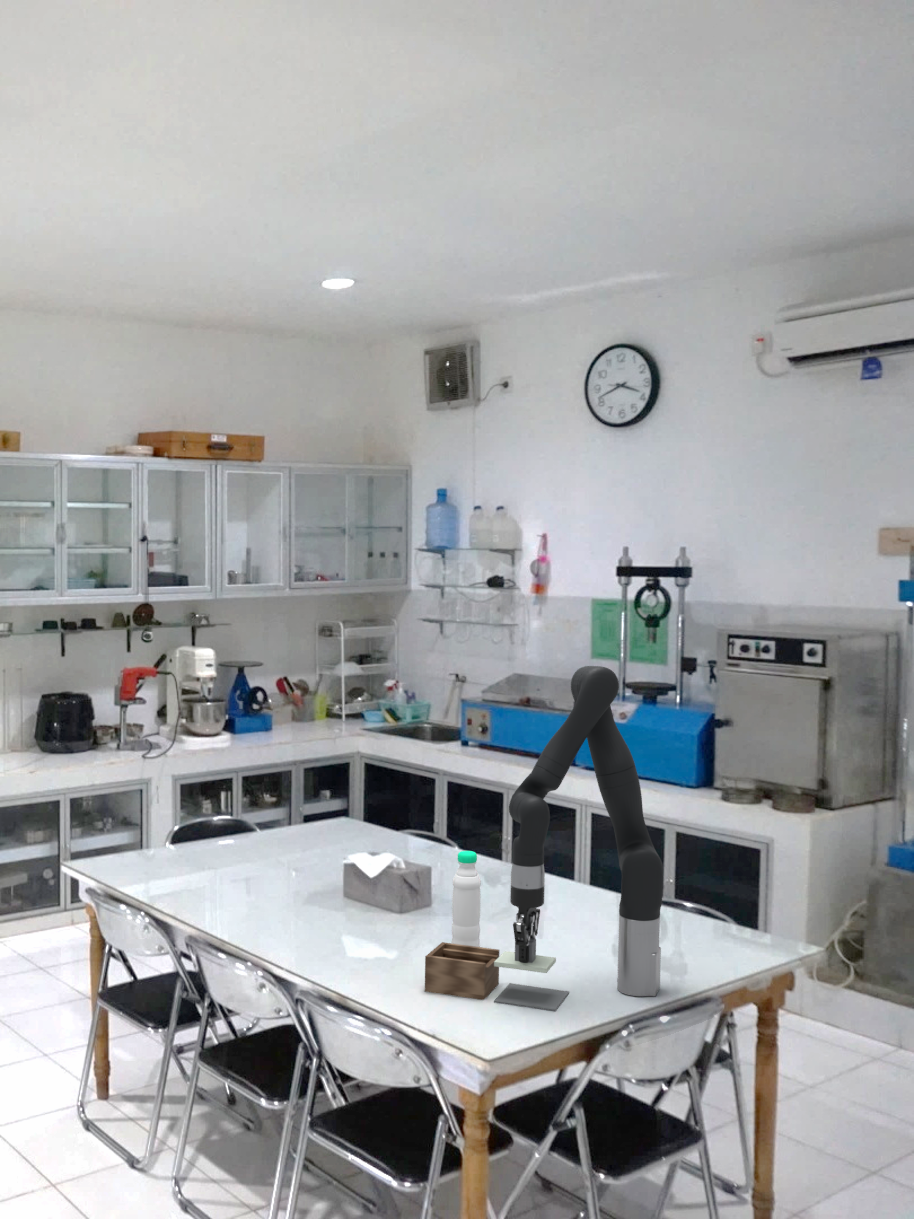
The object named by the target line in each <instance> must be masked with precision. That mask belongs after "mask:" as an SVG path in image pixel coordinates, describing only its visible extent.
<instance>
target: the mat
mask: <svg viewBox="0 0 914 1219" xmlns="http://www.w3.org/2000/svg"><path fill="white" fill-rule="evenodd" d="M569 994H570V990H562V989H554V988H547V987H540V986H535V985H534V986H532V985H525V984H519V983H518V984H517V983H512V982H509V984H508V985H507V986H506V987H505V988H504V989H503V990H502V991H501V992H500V993H499V995H498V996H496V997H495V998H494V1000H493V1003H494V1004H503V1005H509V1006H516V1007H523V1008H530V1009H535V1010H544V1011H551V1012H556V1011H557V1010H558V1009H559V1007H560V1006H561V1005H562V1003H564V1001H565V999H566V998H567V997H568V996H569Z"/></svg>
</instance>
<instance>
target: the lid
mask: <svg viewBox="0 0 914 1219" xmlns="http://www.w3.org/2000/svg"><path fill="white" fill-rule="evenodd" d="M521 940H523V938H521ZM556 963H557V958H556V957H553V956H547V955H538V954H537V939H536V938H535V939H533V938H530V945H529V962H528V963H522V962H519V945H516V944H515V943H514V951H507V950H504V951H503V952H502V953H501V954H499V957H498V958H497V959H496V960H495V961H494V966H496V967H499V968H505V969H512V970H517V971H518V970H520V971H527V972H532V973H533V972H534V973H541V974H548V973H549V971H550V970H551V968H552V967H553V966H554V965H555V964H556Z"/></svg>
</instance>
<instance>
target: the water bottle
mask: <svg viewBox="0 0 914 1219" xmlns="http://www.w3.org/2000/svg"><path fill="white" fill-rule="evenodd" d="M457 861H458V862H457V863H458V864H459V866H458V868H457V870H456V872H455V874H454V876H453V877H452V878H453V879H452V898H451V899H452V900H451V902H452V903H451V906H452V907H451V914H452V916H451V917H452V918H451V919H452V925H451V935H452V936H451V943H452V944H460V945H468V946H475V947H481V942H480V941H481V940H480V935H481V934H480V933H481V925H480V921H481V908H482V907H481V906H482V902H481V898H482V896H481V886H482V880H481V877H480V875H479V873H478V869H477V868H476V864H477V861H478V855H477V853H476V852H475V851H472V850H462V851H459V852H458V854H457Z"/></svg>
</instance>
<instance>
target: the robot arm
mask: <svg viewBox="0 0 914 1219" xmlns="http://www.w3.org/2000/svg"><path fill="white" fill-rule="evenodd" d="M619 690H620V683H619V678H618V676H617V673H615V672H614V670H611V669H610V668H609V667H606V666H602V665H601V666H599V665H597V666H596V665H585V666H582V667H580V668H577V670H576V671H575V672H574V674H573V675H572V678H571V680H570V692H571V695H572V698H573V700H574V705H573V707H572V709H571V712H570V713H569V715H568V717H567V718H566V720H565V721H564V722H563V724H561V726H560V727H559V729H558V730H557V731H556V732H555V733H554V734H553V736H552V737H551V738H550V739H549V741H548V742H547V743H546V745H545V747H544V748H543V750H542V752H541V754H540V755H539V757H538V759H537V761H536V763H535V764H534V766H533V768H532V770H531V772H530V773H529V774H528V775H527V776H526V777H525V779H524V780H523V781H522V782H521V783H520V784H519V786H518V787H517V789H516V790H515V791H514V792H513V794H512V796H511V798H510V800H509V804H508V812H509V815H510V817H511V818H512V819H513V820H514V822H516V823H519V825H520V828H519V829H520V830H519V834H518V835H517V836H516V837H515V838H514V839H513V841H512V849H511V850H512V852H511V853H512V854H511V855H512V859H511V861H512V862H511V871H510V903H511V905H512V906H514V907H517V908H518V910H517V913H516V914H515V915H516V916H515V921H513V924H512V926H513V927H512V928H513V935H514V945H515V944H516V945H519V962H522V963H528V962H529V945H530V938H533V939H536V937H537V936H538V930H539V922H540V916H541V908H540V907H542V906H543V905H545V881H546V878H545V876H546V875H545V866H544V865H545V862H544V861H545V842H546V839H547V834H548V830H549V826H550V819H551V818H550V817H551V814H550V807H549V805H548V803H547V801H546V800H545V798H546V796H547V795H548V793H550V792H553V791H557V790H558V788H559V787H560V786H561V785H562V783H563V780H564V779H565V777H566V775H567V773H568V771H569V769H570V768H571V765H572V764H573V762H574V759H576V756H577V755H578V753H579V751H580V749H581V748H582V745H583V744H584V743H585V741H586V740H587V744H588V748H589V752H590V757H591V760H592V764H593V769H594V773H595V777H596V782H597V785H598V790H599V792H600V794H601V797H602V801H603V803H604V807H605V808H606V811H607V814H608V816H609V819H610V822H611V824H612V827H613V831H614V832H613V833H614V836H615V842H616V849H617V857H618V865H619V869H620V872H621V889H620V891H621V892H620V901H619V904H618V906H619V908H618V946H617V947H618V948H617V977H616V982H617V983H616V986H617V990H618V991H619V992H621V993H622V994H625V995H627V996H632V997H656V995H657V994H658V992H659V991H660V989H661V962H662V961H661V959H662V958H661V957H662V956H661V955H662V948H661V946H660V931H661V930H660V929H661V928H660V927H661V926H660V925H661V920H660V919H661V908H662V905H663V889H664V888H663V887H664V886H663V884H664V865H663V862H662V858H661V857H660V855H659V854H658V852H657V850H656V849H655V846H654V844H653V842H652V839H651V836H650V834H649V831H648V827H647V826H646V822H645V818H644V812H643V811H644V808H643V798H642V797H643V796H642V790H641V784H640V780H639V775H638V772H637V767H636V763H635V760H634V758H633V755H632V753H631V750H630V747H629V746H628V744H627V743H626V741H625V739H624V737H623V735H622V734H621V732H620V731H619V730H620V729H619V728H618V726H617V724H616V722H615V719H614V716H613V711H612V707H611V705H612V703H613V702H614V700H616V698H617V696H618V693H619ZM521 938H523V940H521Z"/></svg>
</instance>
